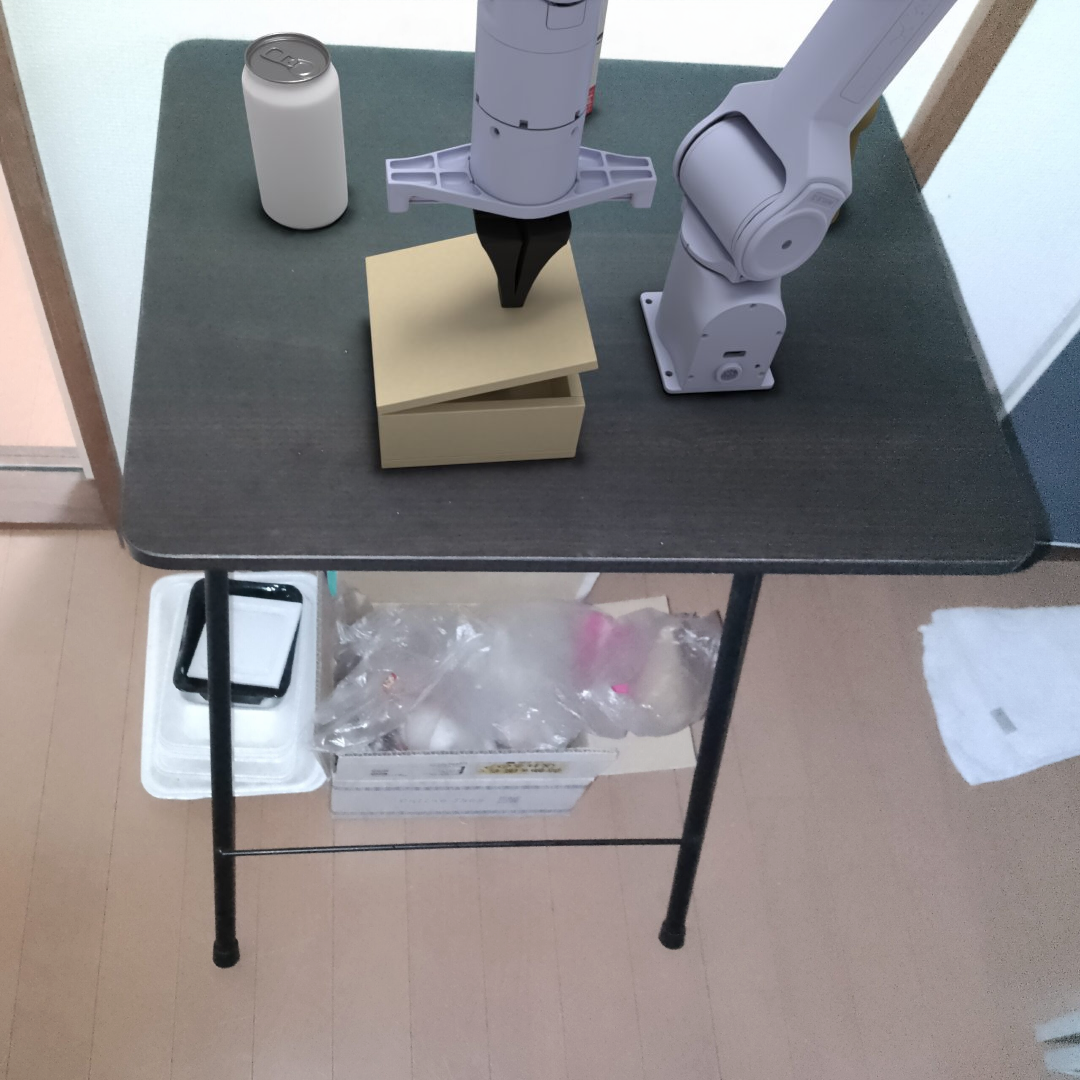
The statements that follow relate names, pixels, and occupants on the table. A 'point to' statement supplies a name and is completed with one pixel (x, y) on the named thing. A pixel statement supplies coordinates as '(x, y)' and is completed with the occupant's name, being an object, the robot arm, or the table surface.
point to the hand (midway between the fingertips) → (510, 296)
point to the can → (296, 129)
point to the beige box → (487, 426)
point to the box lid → (469, 325)
